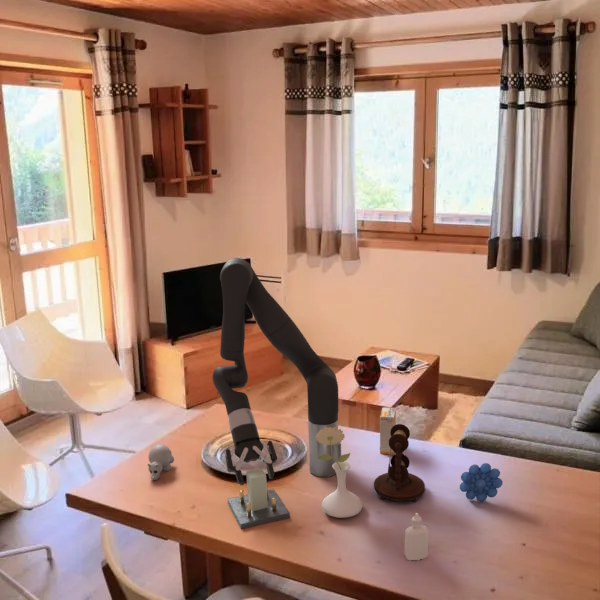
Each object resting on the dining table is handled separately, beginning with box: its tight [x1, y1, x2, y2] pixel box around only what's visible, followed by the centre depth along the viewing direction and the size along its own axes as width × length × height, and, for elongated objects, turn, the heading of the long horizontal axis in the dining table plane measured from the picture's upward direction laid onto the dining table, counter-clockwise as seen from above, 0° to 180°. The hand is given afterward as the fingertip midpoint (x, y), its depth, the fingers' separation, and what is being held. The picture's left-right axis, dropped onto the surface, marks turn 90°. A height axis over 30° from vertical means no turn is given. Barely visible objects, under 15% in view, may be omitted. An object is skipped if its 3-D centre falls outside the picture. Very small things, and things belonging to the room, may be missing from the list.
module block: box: [245, 468, 268, 511], centre depth 190 cm, size 4×4×10 cm
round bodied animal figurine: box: [147, 443, 175, 481], centre depth 214 cm, size 7×12×8 cm, turn 167°
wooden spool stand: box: [373, 423, 426, 503], centre depth 197 cm, size 15×15×20 cm
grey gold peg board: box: [227, 484, 291, 530], centre depth 191 cm, size 14×14×5 cm
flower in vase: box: [315, 427, 363, 519], centre depth 188 cm, size 13×11×25 cm
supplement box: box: [379, 407, 397, 455], centre depth 224 cm, size 8×5×13 cm, turn 168°
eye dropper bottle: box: [404, 512, 429, 561], centre depth 167 cm, size 4×6×12 cm
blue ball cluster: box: [459, 462, 503, 503], centre depth 192 cm, size 12×7×12 cm, turn 73°
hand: (257, 481), depth 190 cm, fingers open, 8 cm apart
